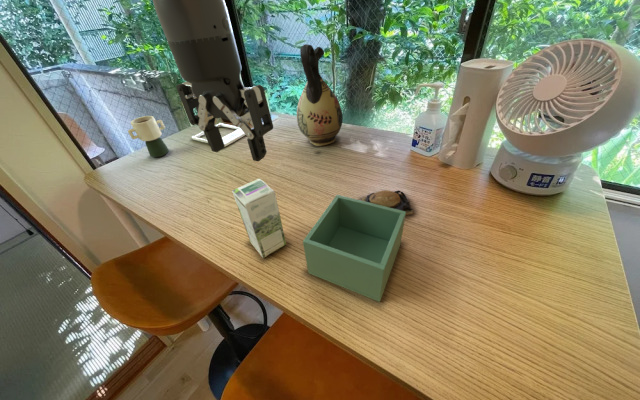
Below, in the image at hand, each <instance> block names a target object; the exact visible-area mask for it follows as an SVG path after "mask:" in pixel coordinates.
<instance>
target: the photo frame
mask: <svg viewBox="0 0 640 400" xmlns="http://www.w3.org/2000/svg"><path fill="white" fill-rule="evenodd" d="M215 126H218V128H220V127H224V128H228V129H233V130H234V131H232V132H230V133H228V134H226V135H225V136H222V140H223V142H224V148H225V147H227V146H229V145H231V144H233V143H234V142H236V141H237V140H240V139H241V138H243V137H245V136H246V134H245V133H244V132H243V131H242V130H241V128H239V127H236V126H234V125H233V124H232V125H231V124H226V123H222V122H219V123H218V124H216V125H215ZM202 136H205V134H204V131H201V132H199V133H197V134H195V135H192V136H191V139H192V140H194V141H197V142H201V143H205V144H208V141H207V139H206V138H202Z"/></svg>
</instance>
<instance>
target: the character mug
mask: <svg viewBox="0 0 640 400" xmlns="http://www.w3.org/2000/svg"><path fill="white" fill-rule="evenodd" d="M159 124H160V126H159ZM130 125H131V127H132V128H130V129H128V130H127V133H128V135H129V137H130V138H131V139H132V140H137V139H139V140H140V141H141V142H145V146H146V149H147V151H148V154H149V156H150V157H153V158H158V157H163V156H165V155H166V154H168V153H169V151H170V149H169V148H168V146H167V144H166V143H165V141H164V140H163V139H162V137H161V136H162V133H163V132H162V131H163V130H165V129H166V126H165V124H164V122H163V120H162V119H158V120H156V119H155V117H154V115H153V116H152V115H144V116H139V117H136V118H134V119H132V120H131V121H130ZM134 132H135V133H136V135H134Z"/></svg>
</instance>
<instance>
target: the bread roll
mask: <svg viewBox="0 0 640 400" xmlns="http://www.w3.org/2000/svg"><path fill="white" fill-rule="evenodd" d="M361 201H365V202H369V203H373V204H377V205H381V206H385V207H389V208H393V209H397V210H401V211H405V212H406V216H410V215H413V214H414V210H413V208H412V207H411V204H410V201H409V199H408V197H407V196H406V194H405V193H404V192H403V191H401V190H399V189H397V190H395V191H393V190H387V189H385V190H380V191H377V192H372V193H369V194H367V195H366V196H363V197H362V198H361Z"/></svg>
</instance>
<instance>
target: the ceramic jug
mask: <svg viewBox="0 0 640 400" xmlns="http://www.w3.org/2000/svg"><path fill="white" fill-rule="evenodd" d="M299 50H300V51H299V54H300V60H301V65H302V68H303V72H304V75H305V78H306V82H305V85H304V87H303V90H302V91H301V95H300V97H299V99H298V102H297V107H296V123H297V127H298V129H299V131H300V133H301V134H302V135H303V136H304V137H306V139H308V141H309V143H310V144H311V145H313V146H316V147H321V146H326V145H330V144H332V143H334V142H335V141H336V140H337V136H338V134H339V133H340V131H341V128H342V125H343V122H344V121H343V120H344V115H343V110H342V107H341V104H340V101H339V100H338V97H337V96H336V95H335V93H334V92H333V90H332V89H331V87H330V86H329V85H328V83H327V82H326V81H325V80H324V79H323V77H322V76H321V74H320V70H319V69H320V68H319V61H320V60H321V58H322V57H323V56H324V55H325V50H324V49H323V48H322V47H321V46H316V48H314V46H313V45H312V44H307V43H305V44H303V45H302V46H301V47H300V49H299Z"/></svg>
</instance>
